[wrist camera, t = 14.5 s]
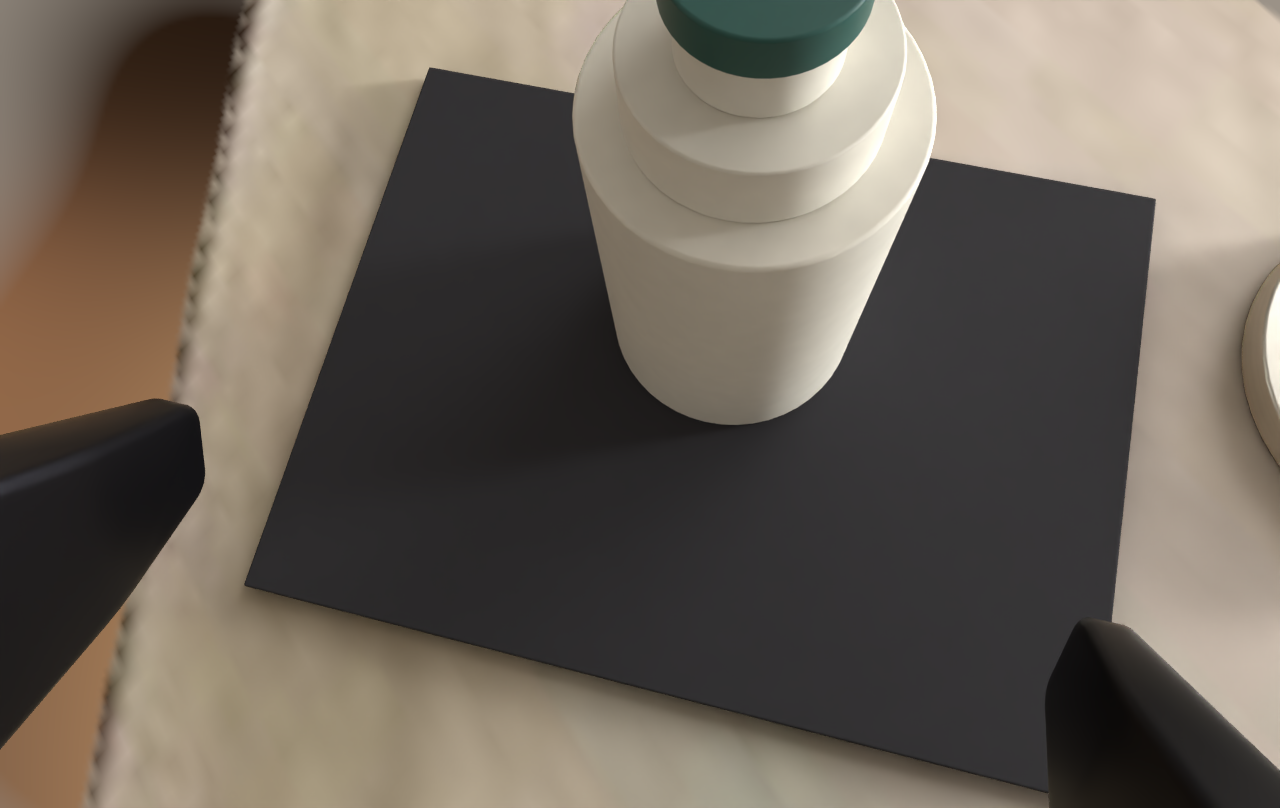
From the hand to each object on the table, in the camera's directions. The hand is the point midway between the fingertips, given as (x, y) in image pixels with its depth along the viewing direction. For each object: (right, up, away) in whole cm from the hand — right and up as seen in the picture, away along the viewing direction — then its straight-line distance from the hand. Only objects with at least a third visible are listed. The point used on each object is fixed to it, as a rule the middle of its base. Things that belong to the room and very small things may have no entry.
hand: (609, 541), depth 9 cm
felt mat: (+2, +2, +15) cm, 15 cm away
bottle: (+3, +4, +15) cm, 15 cm away
